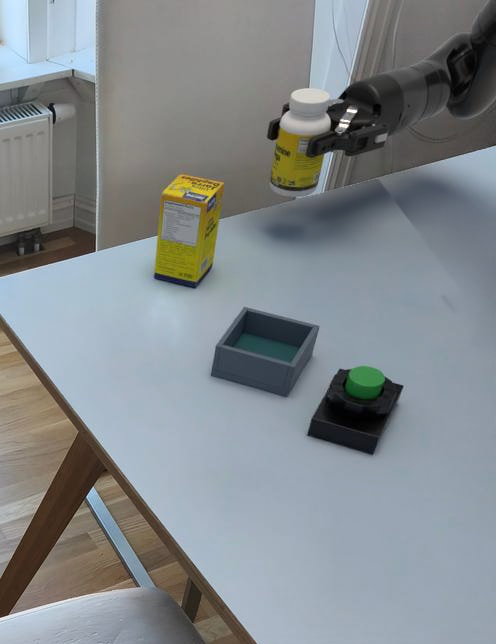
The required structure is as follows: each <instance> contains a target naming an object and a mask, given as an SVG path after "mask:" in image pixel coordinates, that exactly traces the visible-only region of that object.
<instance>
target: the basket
mask: <svg viewBox="0 0 496 644" xmlns="http://www.w3.org/2000/svg"><path fill="white" fill-rule="evenodd" d="M320 327H321V326H320V325H318V324H314V323H310V322H306V321H303V320H298V319H295V318H292V317H291V318H290V317H287V316H282V315H278V314H274V313H270V312H266V311H264V310H263V311H262V310H259V309H255V308H250V307H247V306H243V308H242V309H241V310H240V312H239V313H238V314H237V316H236V317H235V319H233V321H232V323H231V324H230V325H229V327H227V329H226V331H225V332H224V334H223V335H222V336H221V338H220V340H219V341H218V342H217V343H216V345H215V347H214V348H215V349H214V354H213V360H212V366H211V371H210V375H211V376H213V377H215V378H220V379H223V380H227V381H230V382H233V383H237V384H240V385H241V384H242V385H244V386H249V387H252V388H256V389H258V390H263V391H266V392H269V393H273V394H277V395H280V396H284V397H288V396H289V394H290V392H291V391H292V389H293V388H294V386H295V384H296V383H297V381H298V379H299V378H300V376H301V374H302V372H303V371H304V369H305V368H306V366H307V364H308V363H309V361H310V359H311V358H312V356H313V353H314V349H315V346H316V341H317V338H318V334H319V330H320Z"/></svg>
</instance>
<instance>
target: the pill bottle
mask: <svg viewBox="0 0 496 644" xmlns="http://www.w3.org/2000/svg"><path fill="white" fill-rule="evenodd" d="M330 100H331V95H330V93H328V91H325V90H323V89H319V88H314V87H313V88H312V87H310V88H309V87H307V88H299V89H296V90H293V92H292V93H291V95H290V98H289V102H290V103H289V102H288V103H289V108H290V110H289V111H288V112H286V113H285V114H284V115H283V117H282V118H281V121H280V126H279V131H278V137H277V139H276V142H275V148H274V153H273V161H272V164H271V165H272V166H271V171H270V175H269V176H270V177H269V187H270V189H271V191H273V193H274V194H277V195H280V196H283V197H289V198H298V197H299V198H301V197H306V196H309V195H311V194H313V193H314V192H315V191H316V190H317V188H318V185H319V181H320V177H321V171H322V168H323V163H324V158H325V154H323V155H320V156H317V157H314V158H309V157H307V156H306V151H307V146H308V142H309V140H310V138H312V137H315V136H317V135H320V134H323V133H325V132H328V131H330V125H331V120H330V117H329V116H328V114H327V113H325V112H326V111H327V109H328V106H329V101H330Z"/></svg>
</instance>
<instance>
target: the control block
mask: <svg viewBox="0 0 496 644" xmlns="http://www.w3.org/2000/svg"><path fill="white" fill-rule="evenodd" d="M352 369H353V368H348V369H344V368H339V369H338V370H337V372H336V374H334V375H333V377H332V379H331V381H330V383H329V386H328V388H327V389H326V393H325V394H324V396H323V397H322V399H321V401H320V403H319V405H318V406H317V407H316V410H315V412H314V413H313V415H312V417H311V420H310V423H309V426H308V430H307V434H306V435H307V436H309V437H313V438H316V439H320V440H323V441H327V442H331V443H333V444H336V445H339V446H343V447H346V448H350V449H354V450H357V451H361V452H364V453H366V454H370V455H374V454H375V451H376V449H377V447H378V445H379V442H380V441H381V438H382V436H383V435H384V432H385V430H386V428H387V426H388V424H389V422H390V420H391V418H392V416H393V413H394V412H395V409H396V407H397V406H398V403H399V400H400V398H401V395H402V392H403V389H404V385H403V384H400V383H396V382H393V380H392V379H390V378H388V377H386V376H385V381H384V384H383V387H382V390H381V393H380V395H379V396H378V397H377V398H375V399H361V398H357V397H353V396H351V395H350V394H348V393H347V392H346V391H345V385H346V381H347V378H348V375H349V372H350V371H351V370H352Z"/></svg>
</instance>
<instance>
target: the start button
mask: <svg viewBox="0 0 496 644" xmlns="http://www.w3.org/2000/svg"><path fill="white" fill-rule="evenodd" d="M351 369H352V370H351V371H350V372H349V375H348V378H347V381H346V385H345V391H346V392H347V393H348V394H350V395H351V396H353V397H357V398H361V399H375V398H377V397H378V396H379V395H380V393H381V390H382V387H383V384H384V381H385V377H386V376H385V374H384V373H383V372H382V371H381V370H380V369H378V368H375V367H372V366H368V365H367V366H366V365H360V366H355V367H352V368H351Z"/></svg>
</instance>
